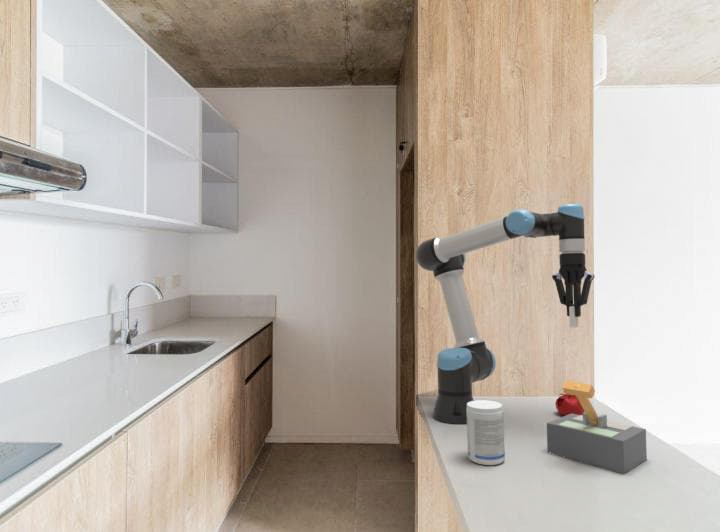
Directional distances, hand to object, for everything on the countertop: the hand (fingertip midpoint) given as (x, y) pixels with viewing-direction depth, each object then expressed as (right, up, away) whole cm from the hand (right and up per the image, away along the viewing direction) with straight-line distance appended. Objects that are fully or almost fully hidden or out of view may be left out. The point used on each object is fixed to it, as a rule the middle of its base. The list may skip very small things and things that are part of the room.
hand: (574, 326), depth 152 cm
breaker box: (-5, -32, -23) cm, 40 cm away
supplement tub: (-34, -33, -24) cm, 53 cm away
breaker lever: (-4, -23, -22) cm, 33 cm away
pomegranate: (+6, -33, +15) cm, 37 cm away
